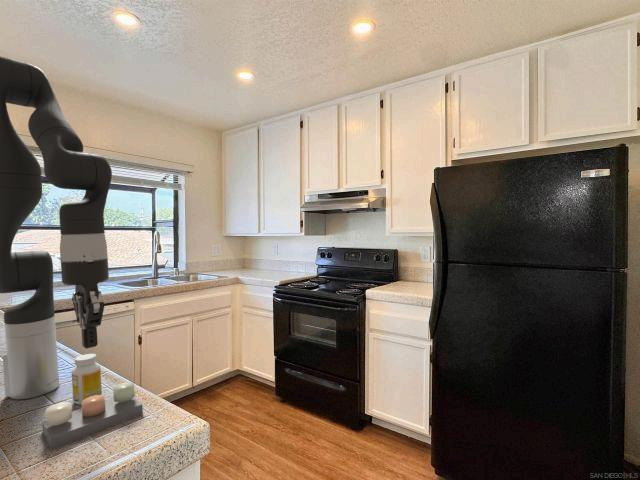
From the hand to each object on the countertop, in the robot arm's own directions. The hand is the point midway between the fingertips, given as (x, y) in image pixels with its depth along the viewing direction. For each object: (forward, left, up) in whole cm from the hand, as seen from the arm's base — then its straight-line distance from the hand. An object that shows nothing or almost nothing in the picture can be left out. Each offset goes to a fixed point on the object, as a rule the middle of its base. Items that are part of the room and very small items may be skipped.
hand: (90, 346), depth 69 cm
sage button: (+4, +4, -12) cm, 13 cm away
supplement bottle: (-8, +10, -15) cm, 20 cm away
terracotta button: (0, 0, -13) cm, 13 cm away
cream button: (-4, -4, -12) cm, 13 cm away
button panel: (0, 0, -15) cm, 15 cm away
